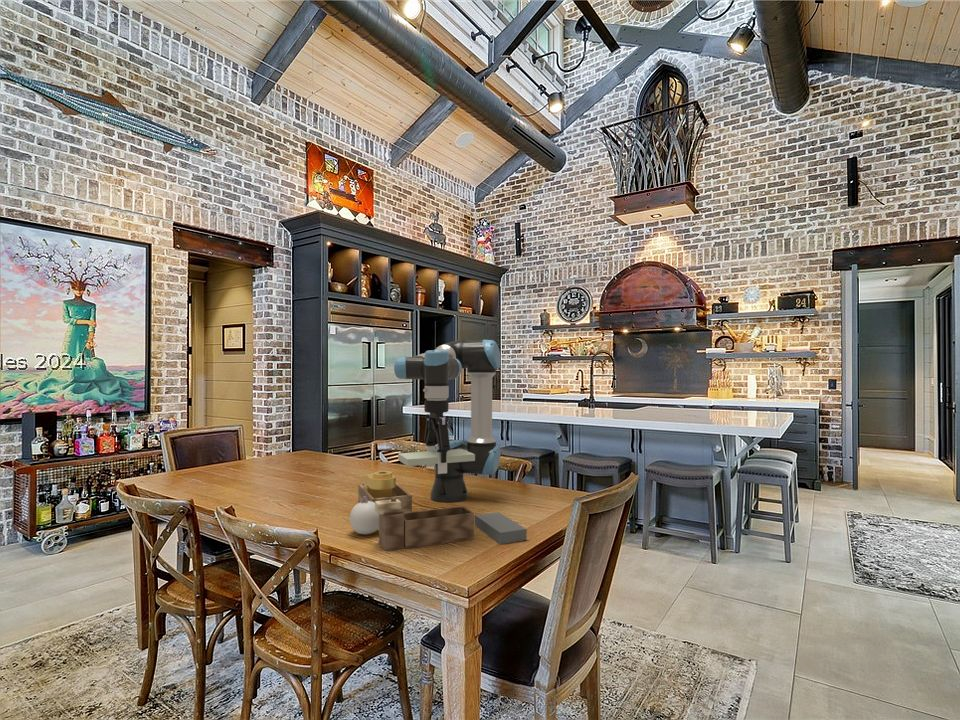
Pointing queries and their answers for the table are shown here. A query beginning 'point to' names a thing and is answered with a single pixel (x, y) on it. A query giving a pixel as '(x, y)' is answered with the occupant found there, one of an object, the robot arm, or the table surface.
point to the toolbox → (425, 527)
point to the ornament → (364, 517)
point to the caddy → (396, 492)
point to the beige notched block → (387, 505)
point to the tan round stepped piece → (380, 484)
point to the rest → (500, 528)
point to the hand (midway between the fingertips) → (436, 469)
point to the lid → (434, 457)
